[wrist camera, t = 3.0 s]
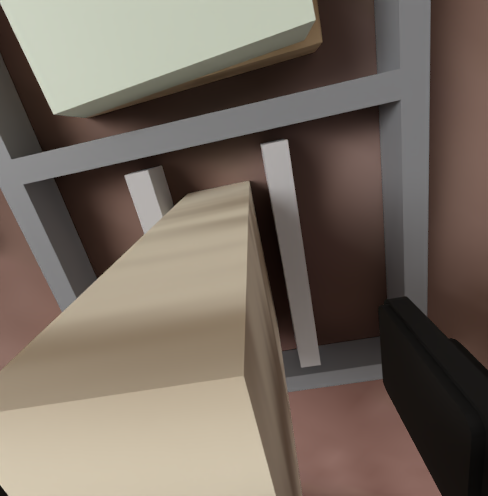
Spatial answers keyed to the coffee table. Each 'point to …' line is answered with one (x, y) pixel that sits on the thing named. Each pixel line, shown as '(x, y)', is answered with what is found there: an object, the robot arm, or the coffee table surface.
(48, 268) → the rack
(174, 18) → the upper offcut
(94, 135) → the coffee table surface
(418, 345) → the robot arm
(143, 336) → the birch board
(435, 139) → the coffee table surface
